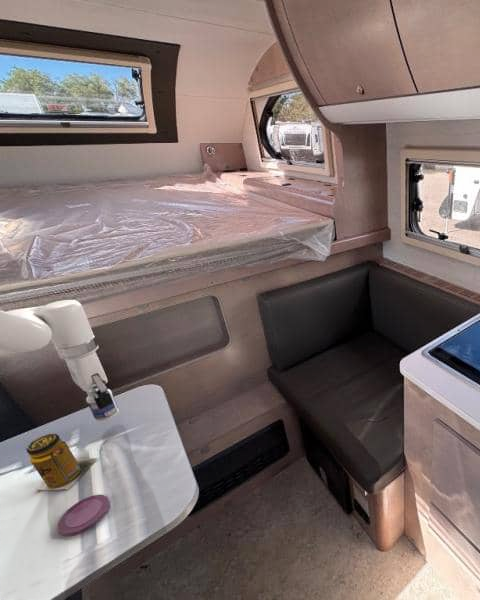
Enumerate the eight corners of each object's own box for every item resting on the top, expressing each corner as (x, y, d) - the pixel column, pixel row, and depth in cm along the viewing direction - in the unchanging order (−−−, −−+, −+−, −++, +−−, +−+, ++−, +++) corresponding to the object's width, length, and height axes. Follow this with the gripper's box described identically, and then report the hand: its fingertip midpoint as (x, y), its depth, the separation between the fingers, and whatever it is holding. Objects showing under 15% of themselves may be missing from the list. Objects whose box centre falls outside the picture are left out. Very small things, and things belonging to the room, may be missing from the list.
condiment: (36, 490, 76) (10, 454, 70) (68, 459, 83) (47, 424, 78) (68, 489, 76) (45, 453, 71) (98, 458, 83) (78, 424, 78)
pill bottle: (99, 411, 94) (87, 384, 90) (121, 406, 96) (111, 379, 92) (91, 423, 90) (78, 396, 86) (115, 418, 92) (104, 391, 88)
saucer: (66, 544, 65) (65, 542, 65) (52, 521, 69) (50, 519, 69) (116, 509, 72) (115, 506, 72) (101, 490, 76) (99, 487, 75)
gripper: (46, 343, 85) (72, 398, 92) (70, 364, 77) (97, 422, 84) (83, 331, 91) (105, 384, 98) (109, 350, 83) (131, 405, 90)
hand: (101, 401), depth 91 cm, fingers closed on pill bottle, 5 cm apart
